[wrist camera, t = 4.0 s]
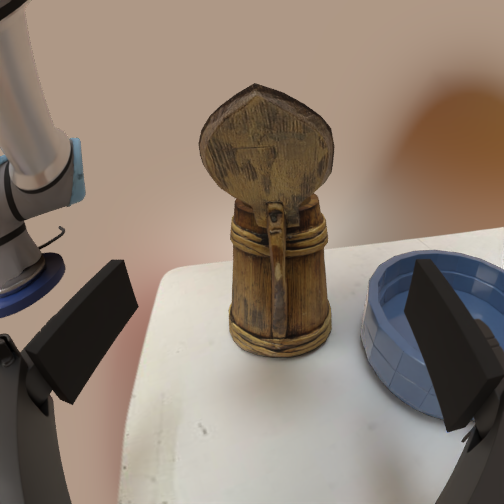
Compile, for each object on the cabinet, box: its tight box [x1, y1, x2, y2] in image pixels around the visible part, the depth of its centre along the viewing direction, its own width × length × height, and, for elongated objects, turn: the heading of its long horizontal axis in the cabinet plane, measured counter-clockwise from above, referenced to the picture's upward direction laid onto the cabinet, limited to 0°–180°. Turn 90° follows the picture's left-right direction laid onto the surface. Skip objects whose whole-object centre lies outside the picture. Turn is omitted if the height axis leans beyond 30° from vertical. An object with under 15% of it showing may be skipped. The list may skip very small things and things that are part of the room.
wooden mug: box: [199, 83, 334, 357], centre depth 19 cm, size 9×14×18 cm, turn 173°
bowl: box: [361, 250, 504, 420], centre depth 18 cm, size 18×18×4 cm
